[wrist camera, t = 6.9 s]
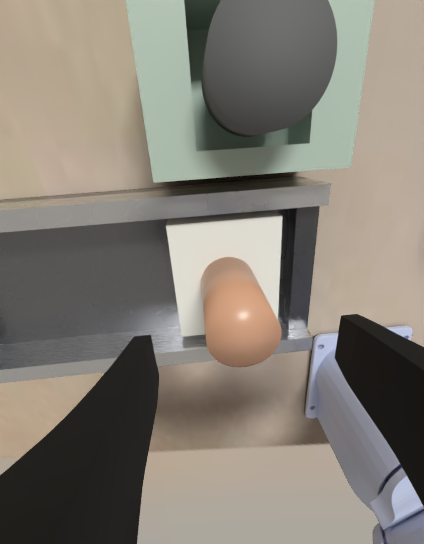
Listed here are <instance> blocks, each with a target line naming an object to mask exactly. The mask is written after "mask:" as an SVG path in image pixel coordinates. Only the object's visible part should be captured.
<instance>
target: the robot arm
mask: <svg viewBox="0 0 424 544" xmlns="http://www.w3.org/2000/svg"><path fill="white" fill-rule="evenodd" d="M412 333H413V329H412V328H411V327H409V326H408V325H404V326H394V327H383V326H381V325H379V324H377V323H375V322H373V321H371V320H369V319H367V318H365V317H362V316H360V315H358V314H353V315H343V316H341V320H340V326H339V332H337V333H327V334H319V335H317V336H315V338H314V340H313V349H312V357H311V366H310V374H309V383H308V391H307V400H306V408H305V415H306V417H307V418H309V419H312V418H318V420H319V422H320V424H321V426H322V428H323V430H324V432H325V435H326V437H327V439H328V441H329V443H330V445H331V447H332V449H333V451H334V453H335V455H336V458H337V460H338V462H339V463H340V466H341V468H342V470H343V472H344V474H345V476H346V478H347V481H348V483H349V484H350V486H351V488H352V489H353V491H354V492H355V494H356V495H357V496H358V497H359V499H360V500H361V501H362V502H363V503H364V504H365V505H366V506H367V507H369V508H370V509H371V510H372V511H373V512H374V513H375V515H376V517H377V519H378V521H379V524H377V525H376V526H375V527H374V529H373V544H424V347H422V346H420V345H418V344H416V343H414V342H412V341H410V339H411V336H412ZM321 344H322V345H321ZM319 345H321V346H319ZM158 387H159V373H158V368H157V363H156V358H155V353H154V348H153V343H152V338H151V335H143V336H134V337H133V338H132V340H131V341H130V342H129V343H128V345H127V346H126V347H125V349H124V350H123V351H122V352H121V354H120V355H119V356H118V358H117V359H116V360H115V361H114V363H113V364H112V365H111V366H110V368H109V369H108V370H107V371H106V373H105V374H104V375H103V376H102V377H101V379H100V380H99V381H98V382H97V383H96V385H95V386H94V387H93V388H92V389H91V390H90V391H89V392H88V393H87V395H86V396H85V397H84V398H83V399H82V400H81V401H80V402H79V403H78V405H77V406H76V407H75V408H74V409H73V410H72V411H71V412H70V413H69V414H68V415H67V416H66V417H65V418H64V419H63V420H62V421H61V422H60V423H59V424H58V425H57V426H56V427H55V428H54V429H53V430H52V431H51V432H50V433H48V434H47V435H46V436H45V437H44V438H43V439H42V440H41V441H40V442H39V443H37V444H36V445H35V446H34V447H33V448H32V449H30V450H29V451H28V452H27V453H26V454H25V455H24V456H22V457H21V458H20V459H19V460H18V461H17V462H15V463H14V464H13V465H12V466H11V467H10V468H9V469H8V470H6V471H5V472H4V473H3V474H1V475H0V544H137V535H138V525H139V515H140V505H141V495H142V486H143V479H144V473H145V467H146V462H147V456H148V451H149V446H150V440H151V435H152V430H153V424H154V419H155V413H156V408H157V400H158Z"/></svg>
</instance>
